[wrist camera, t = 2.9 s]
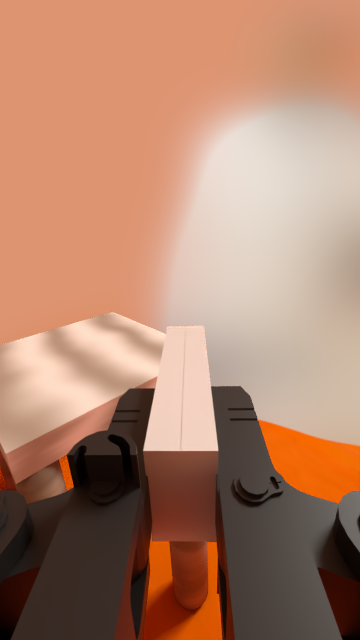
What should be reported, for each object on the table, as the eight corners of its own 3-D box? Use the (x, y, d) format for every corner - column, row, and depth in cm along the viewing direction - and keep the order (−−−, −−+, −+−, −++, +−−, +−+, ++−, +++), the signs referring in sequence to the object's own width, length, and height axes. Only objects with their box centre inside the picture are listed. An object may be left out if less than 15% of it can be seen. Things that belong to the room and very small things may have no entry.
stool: (126, 414, 48) (112, 311, 41) (208, 482, 35) (206, 350, 29) (5, 483, 36) (-41, 357, 30) (62, 619, 24) (5, 453, 17)
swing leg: (121, 526, 30) (101, 413, 25) (144, 506, 32) (130, 397, 27) (190, 619, 23) (183, 489, 18) (215, 587, 25) (215, 461, 20)
